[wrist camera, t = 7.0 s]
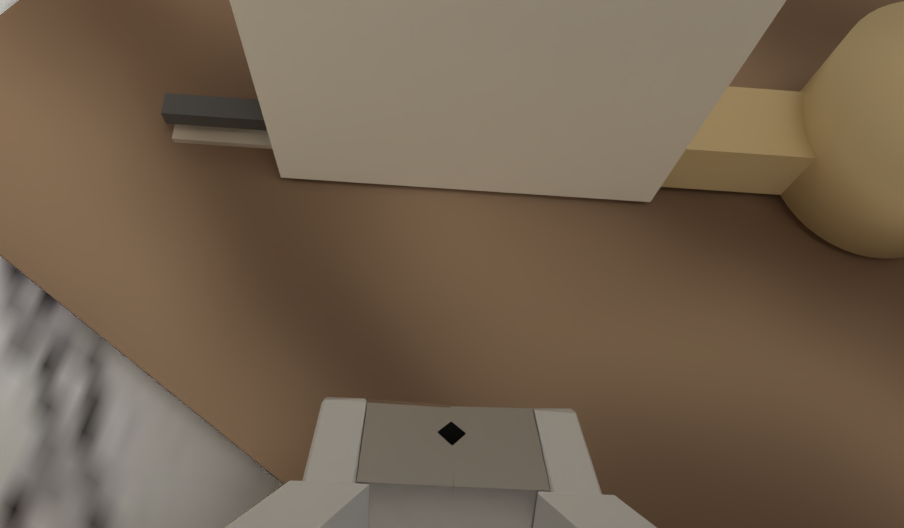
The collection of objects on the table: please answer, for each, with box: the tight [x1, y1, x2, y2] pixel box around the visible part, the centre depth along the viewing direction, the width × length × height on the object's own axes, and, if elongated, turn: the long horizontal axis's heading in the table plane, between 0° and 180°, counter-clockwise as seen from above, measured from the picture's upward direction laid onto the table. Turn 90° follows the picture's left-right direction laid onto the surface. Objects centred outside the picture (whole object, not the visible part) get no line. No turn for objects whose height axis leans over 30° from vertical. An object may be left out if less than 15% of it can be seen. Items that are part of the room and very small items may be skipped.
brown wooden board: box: [0, 0, 904, 528], centre depth 19 cm, size 22×22×2 cm
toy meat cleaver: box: [161, 0, 904, 259], centre depth 14 cm, size 18×4×7 cm, turn 88°
